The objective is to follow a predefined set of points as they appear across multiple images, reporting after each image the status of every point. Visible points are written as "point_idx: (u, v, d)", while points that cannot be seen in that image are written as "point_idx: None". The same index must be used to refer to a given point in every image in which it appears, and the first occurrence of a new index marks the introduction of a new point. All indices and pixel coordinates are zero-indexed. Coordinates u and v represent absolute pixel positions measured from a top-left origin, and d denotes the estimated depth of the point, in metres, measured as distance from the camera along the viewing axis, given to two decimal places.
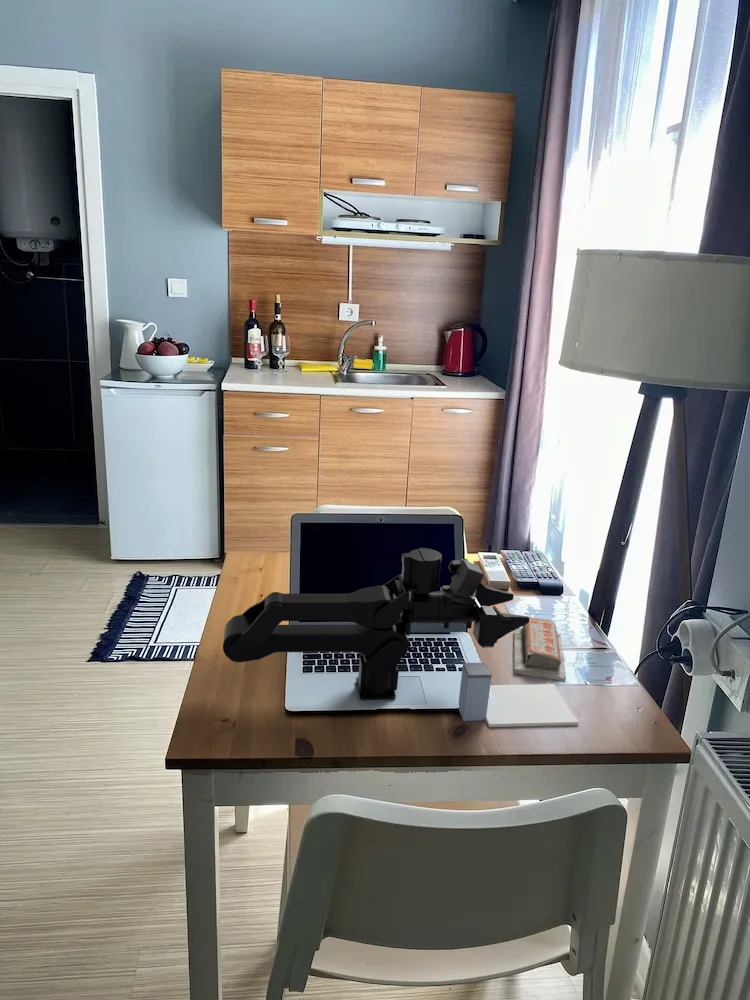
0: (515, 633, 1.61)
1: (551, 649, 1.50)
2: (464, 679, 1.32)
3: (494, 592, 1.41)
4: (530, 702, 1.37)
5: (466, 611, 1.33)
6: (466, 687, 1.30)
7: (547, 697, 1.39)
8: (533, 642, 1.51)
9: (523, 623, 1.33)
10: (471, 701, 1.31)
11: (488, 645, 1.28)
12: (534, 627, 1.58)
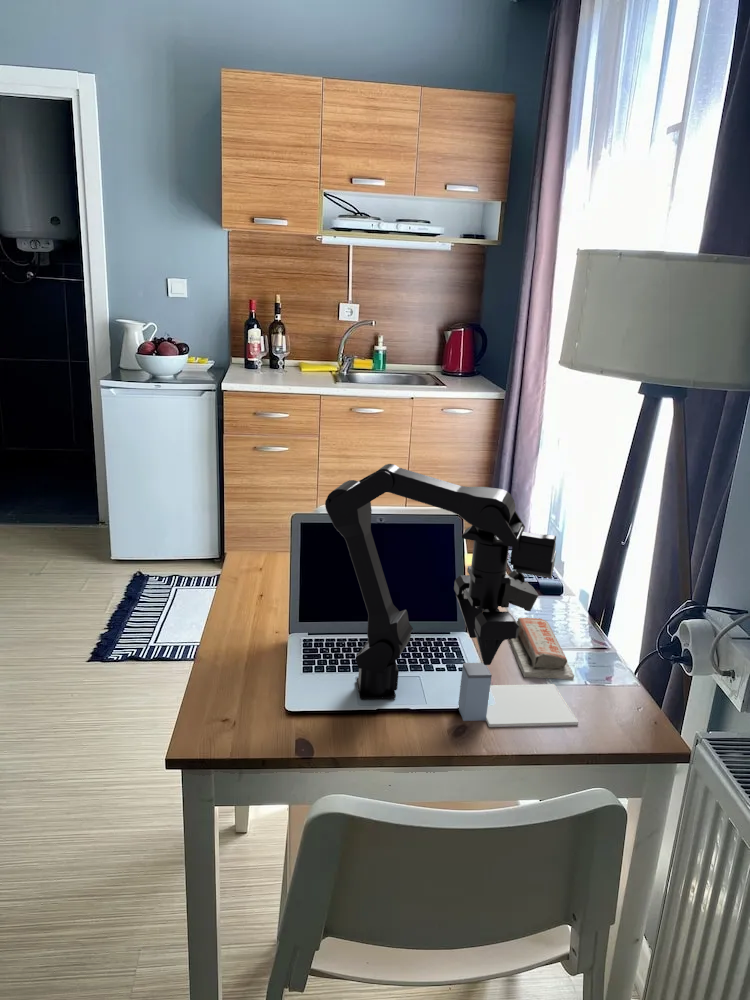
0: None
1: (556, 649, 1.50)
2: (464, 679, 1.32)
3: None
4: (530, 702, 1.37)
5: (494, 599, 1.24)
6: (466, 687, 1.30)
7: (547, 697, 1.39)
8: (536, 643, 1.51)
9: (485, 660, 1.25)
10: (471, 701, 1.31)
11: (485, 633, 1.18)
12: (531, 628, 1.57)
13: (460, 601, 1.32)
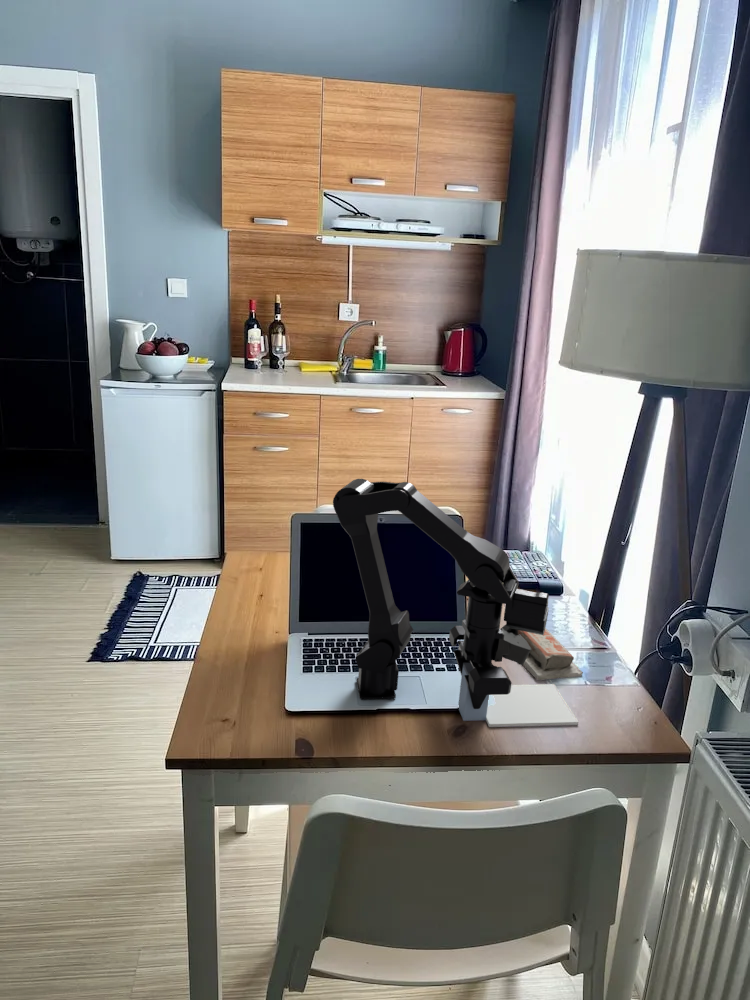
0: None
1: (560, 647, 1.51)
2: (464, 679, 1.32)
3: None
4: (530, 702, 1.37)
5: (488, 654, 1.27)
6: (466, 687, 1.30)
7: (547, 697, 1.39)
8: (541, 644, 1.51)
9: (475, 704, 1.30)
10: None
11: (478, 689, 1.21)
12: None
13: (458, 659, 1.33)
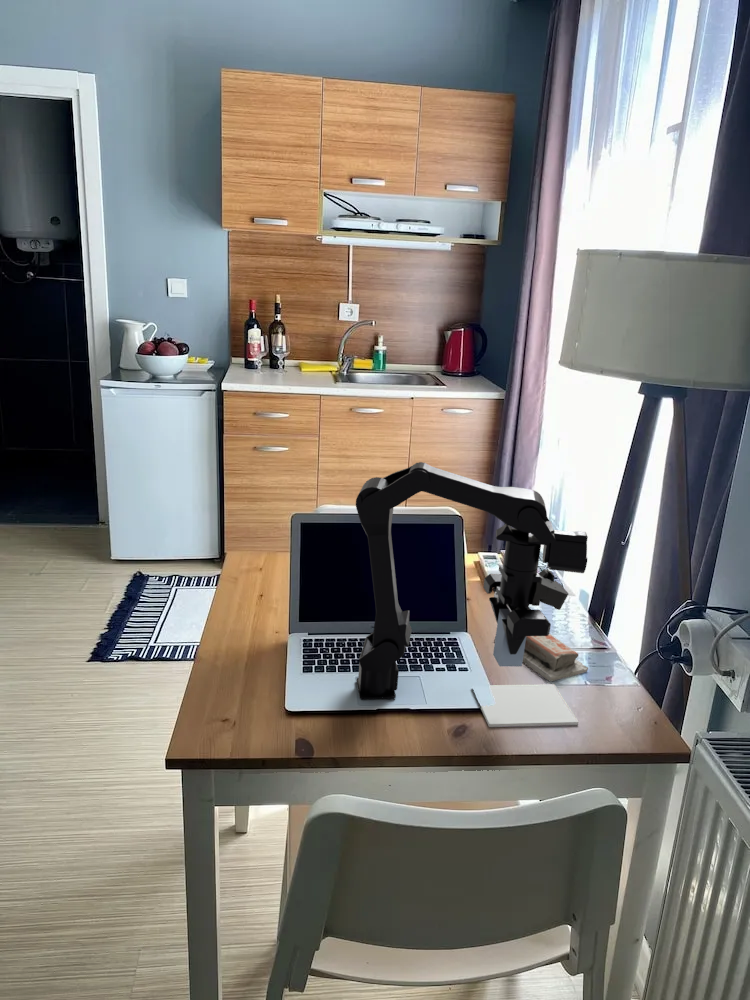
0: None
1: (563, 646, 1.51)
2: (501, 624, 1.31)
3: None
4: (530, 702, 1.37)
5: (525, 597, 1.27)
6: (503, 632, 1.30)
7: (547, 697, 1.39)
8: (546, 645, 1.51)
9: (512, 649, 1.30)
10: (507, 646, 1.30)
11: (518, 630, 1.21)
12: None
13: (494, 605, 1.33)
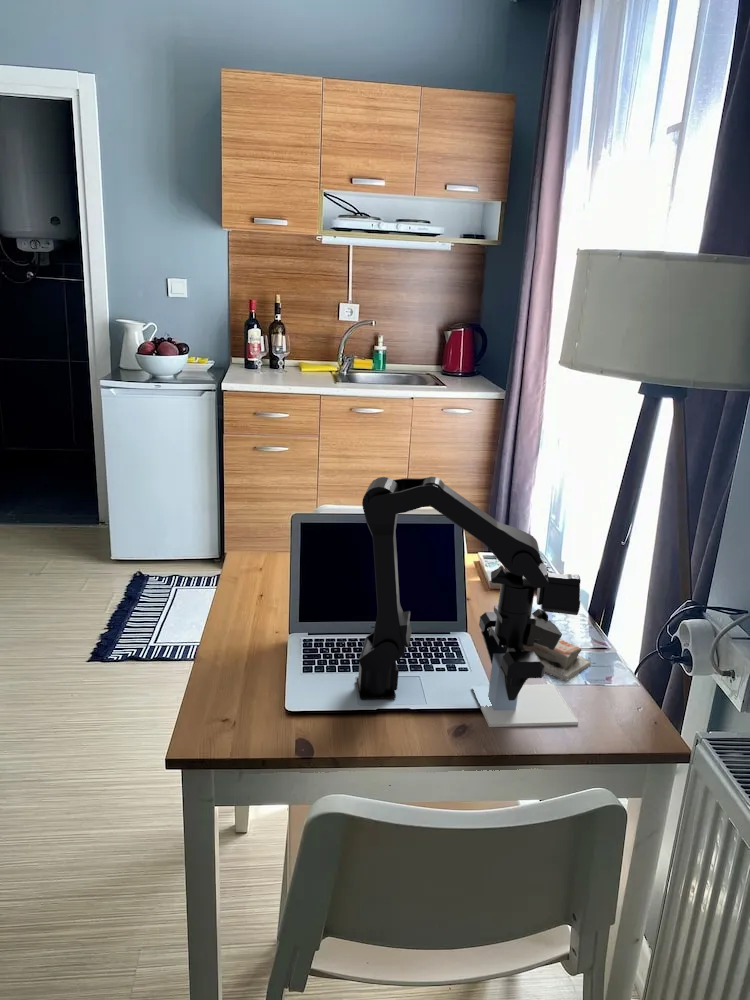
0: None
1: (566, 643, 1.53)
2: (495, 669, 1.34)
3: None
4: (530, 702, 1.37)
5: (520, 639, 1.29)
6: (497, 677, 1.33)
7: (547, 697, 1.39)
8: None
9: (510, 696, 1.30)
10: (501, 690, 1.33)
11: (512, 673, 1.24)
12: None
13: (486, 638, 1.37)
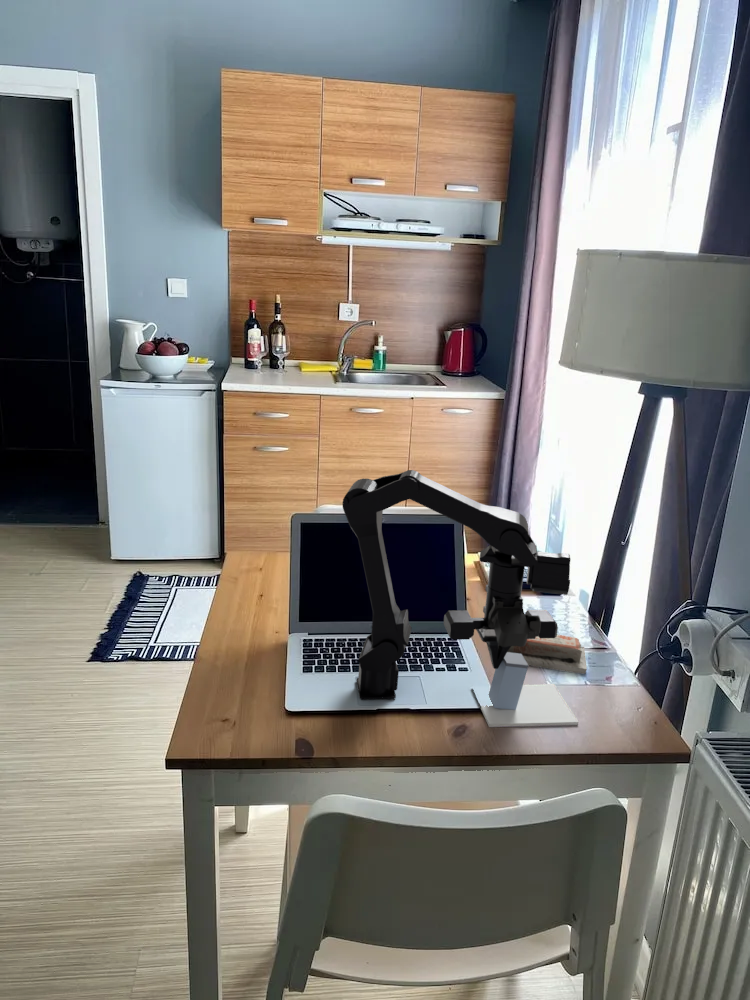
0: None
1: (564, 636, 1.55)
2: (500, 667, 1.34)
3: (500, 651, 1.32)
4: (530, 702, 1.37)
5: (487, 613, 1.29)
6: (502, 675, 1.33)
7: (547, 697, 1.39)
8: (558, 642, 1.52)
9: (491, 660, 1.34)
10: (504, 688, 1.33)
11: (444, 619, 1.32)
12: None
13: None
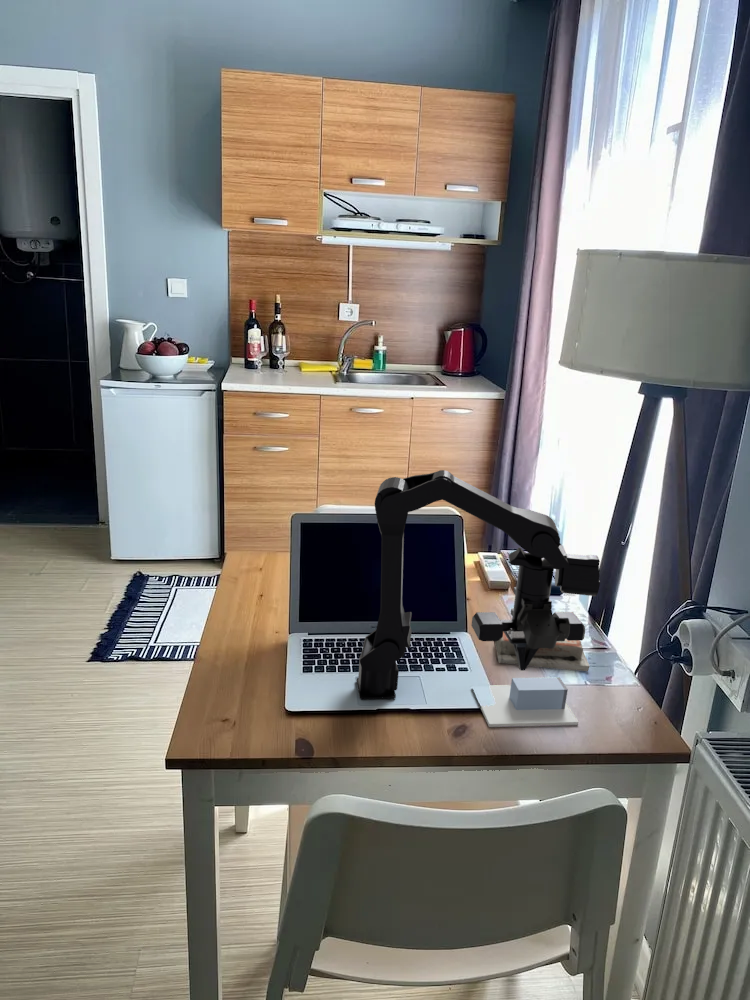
0: (513, 659, 1.51)
1: None
2: (552, 683, 1.37)
3: (528, 653, 1.33)
4: None
5: (515, 615, 1.30)
6: (552, 688, 1.35)
7: None
8: (559, 641, 1.52)
9: (518, 662, 1.35)
10: (539, 694, 1.34)
11: (472, 620, 1.33)
12: None
13: None
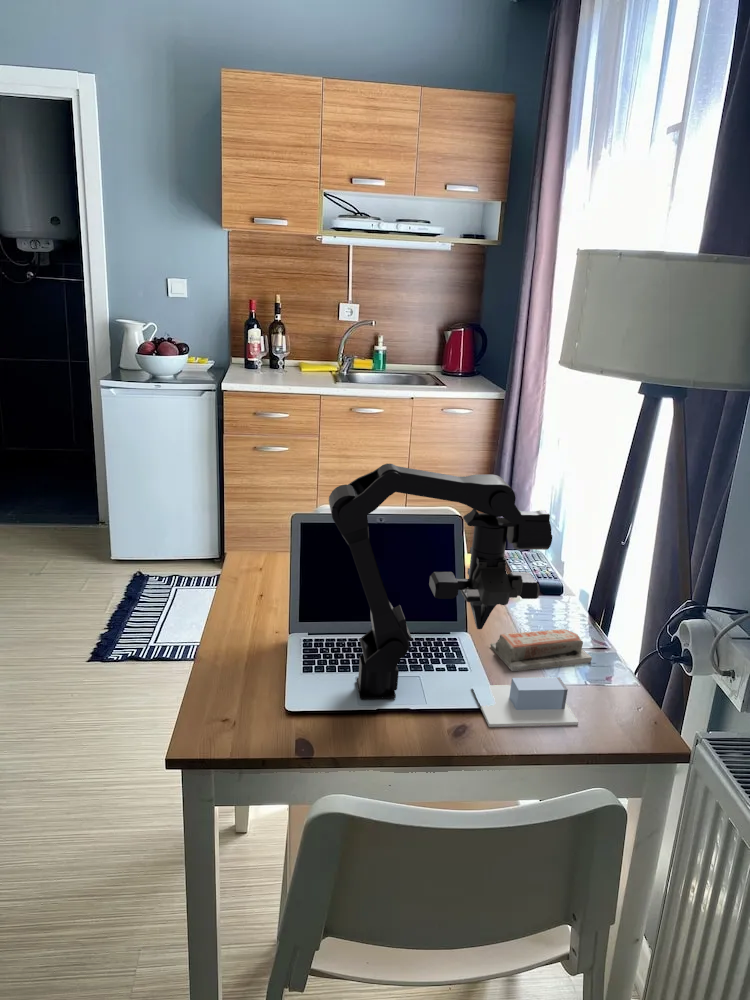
0: (525, 664, 1.49)
1: (556, 631, 1.57)
2: (552, 683, 1.37)
3: (484, 612, 1.36)
4: None
5: (471, 574, 1.33)
6: (552, 688, 1.35)
7: None
8: (560, 638, 1.54)
9: (475, 621, 1.38)
10: (539, 694, 1.34)
11: None
12: (530, 640, 1.52)
13: None
